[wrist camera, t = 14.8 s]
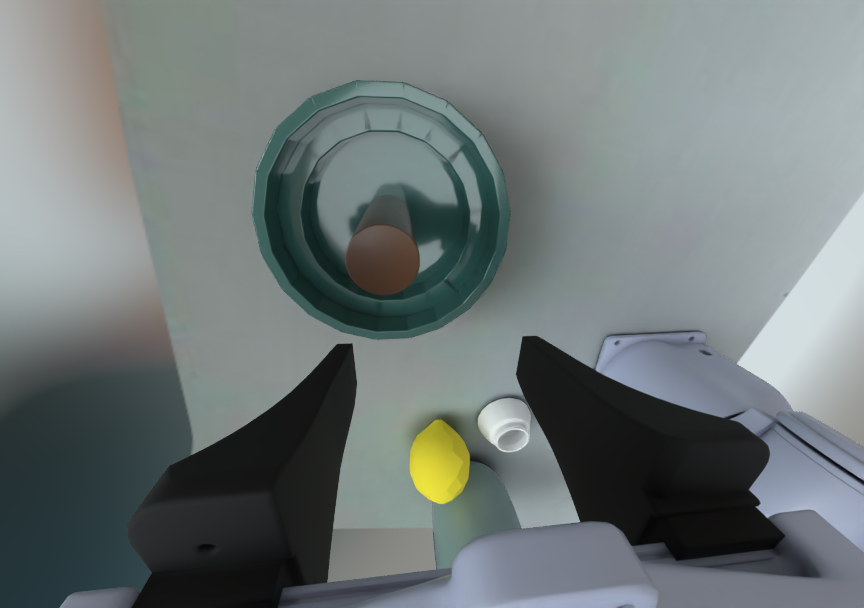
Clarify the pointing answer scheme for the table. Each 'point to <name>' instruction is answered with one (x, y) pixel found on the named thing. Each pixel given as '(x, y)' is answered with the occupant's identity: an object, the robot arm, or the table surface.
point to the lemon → (439, 462)
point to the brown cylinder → (383, 248)
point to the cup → (472, 514)
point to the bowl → (368, 179)
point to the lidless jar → (506, 424)
